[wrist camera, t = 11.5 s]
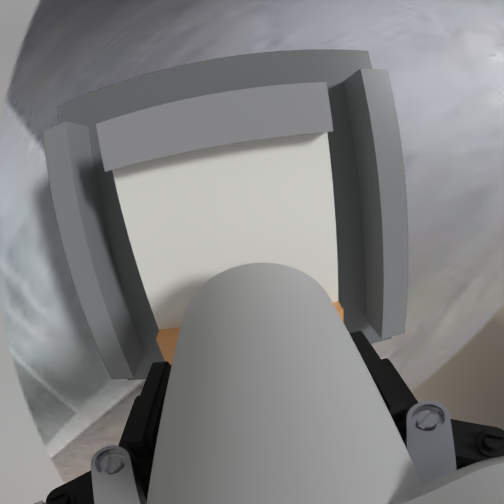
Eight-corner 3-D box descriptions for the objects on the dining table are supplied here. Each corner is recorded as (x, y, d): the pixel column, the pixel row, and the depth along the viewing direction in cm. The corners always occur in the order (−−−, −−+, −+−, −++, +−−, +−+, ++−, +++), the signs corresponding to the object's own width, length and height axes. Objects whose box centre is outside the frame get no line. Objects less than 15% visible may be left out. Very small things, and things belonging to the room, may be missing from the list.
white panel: (113, 124, 12) (95, 123, 10) (312, 88, 12) (326, 81, 10) (173, 345, 16) (168, 369, 14) (331, 320, 16) (342, 342, 14)
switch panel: (80, 112, 16) (34, 99, 11) (349, 65, 16) (386, 36, 11) (138, 355, 21) (117, 403, 16) (374, 318, 21) (408, 357, 16)
